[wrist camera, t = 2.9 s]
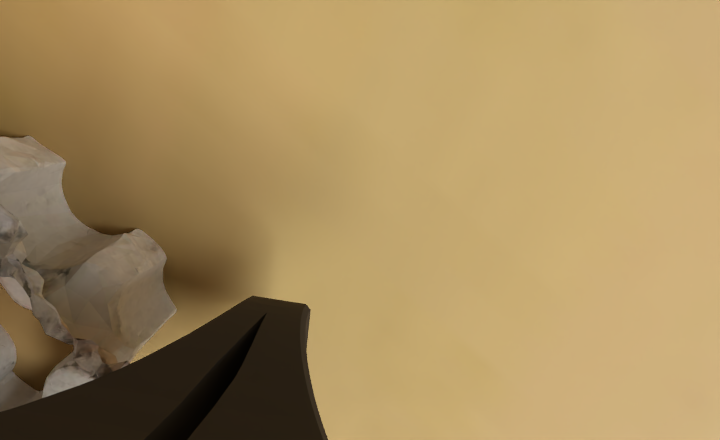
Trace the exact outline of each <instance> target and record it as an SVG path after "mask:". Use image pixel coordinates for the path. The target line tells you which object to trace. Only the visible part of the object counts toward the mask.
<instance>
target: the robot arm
mask: <svg viewBox="0 0 720 440" xmlns="http://www.w3.org/2000/svg"><path fill="white" fill-rule="evenodd" d="M309 319H310V309H309V307H308V306H307V305H306V304H301V303H294V302H288V301H282V300H275V299H269V298H263V297H256V296H251V297H250V298H248V299H246V300H244V301H243V302H241V303H239V304H238V305H236V306H234V307H233V308H231V309H230V310H228V311H226V312H225V313H223V314H222V315H220V316H218V317H217V318H215V319H213V320H212V321H210V322H208V323H207V324H205V325H203V326H202V327H200V328H198V329H196V330H195V331H193V332H191V333H190V334H188V335H186V336H184V337H182V338H180V339H178V340H177V341H175V342H173V343H171V344H169V345H167V346H165V347H163V348H161V349H160V350H158V351H156V352H154V353H152V354H150V355H148V356H146V357H144V358H142V359H140V360H138V361H136V362H134V363H131V364H129V365H127V366H125V367H123V368H120V369H118V370H116V371H113V372H111V373H108V374H106V375H104V376H101V377H99V378H97V379H94V380H92V381H89V382H87V383H84V384H81V385H79V386H76V387H73V388H70V389H67V390H64V391H61V392H59V393H56V394H53V395H50V396H47V397H44V398H41V399H39V400H36V401H33V402H30V403H27V404H24V405H21V406H18V407H15V408H12V409H8V410H5V411H2V412H0V440H328V438H327V436H326V433H325V430H324V427H323V424H322V421H321V418H320V415H319V412H318V408H317V405H316V401H315V397H314V393H313V389H312V384H311V380H310V375H309V369H308V363H307V353H306V347H307V338H308V328H309Z"/></svg>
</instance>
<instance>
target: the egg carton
mask: <svg viewBox="0 0 720 440" xmlns="http://www.w3.org/2000/svg"><path fill="white" fill-rule="evenodd" d="M65 165H66V161H65V160H64V159H63V158H61V157H60V156H59V155H57V154H56V153H54V152H53V151H51V150H49V149H48V148H46V147H45V146H43V145H41V144H40V143H39V142H37V141H36V140H35V139H34V138H33V137H31V136H29V135H28V136H26V137H23V138H10V137H6V136H2V137H0V283H1V284H2V286H3V287H4V289H5V290H6V291H7V293H8V294H9V295H10V296H11V298H12V299H13V300H14V301H15V302H16V303H17V304H19V305H21V306H22V307H24V308H27V309H30V310H32V312H33V315H34V316H35V317H36V318H37V319H38V320H39V321H40V323H41V325H42V327H43V329H44V331H45V334H47V335H49V336H51V337H53V338H56V339H58V340H60V341H62V342H65V343H67V344H71V345H74V351H73V352H72V353H70V354H69V355H68V356H67V357H66V358H64V359H63V360H62V361H61V362H60V363H58V364H57V365H56V366H55V367H54V368H53V370H52V371H51V372H50V374H49V375H48V376H47V378H46V381H45V384H44V389H43V390H41V391H36V390H35V389H33V388H32V387H30V386H29V385H28V384H26V383H25V382H24V381H22V380H21V379H20V378H19V377H18V376H17V375H15V373H14V372H13V371H12V370H13V368H14V366H15V364H16V359H17V356H16V347H15V345H14V342H13V340H12V339H11V337H10V335H9V334H8V333H7V331H6V330H5V329H4V328H3V327H2V325H1V324H0V412H2V411H5V410H8V409H12V408H15V407H18V406H21V405H24V404H27V403H30V402H33V401H36V400H39V399H41V398H44V397H47V396H50V395H53V394H56V393H59V392H61V391H64V390H67V389H70V388H73V387H76V386H79V385H81V384H84V383H87V382H89V381H92V380H94V379H97V378H99V377H101V376H104V375H106V374H108V373H111V372H113V371H116V370H118V369H120V368H123V367H125V366H127V365H129V364H130V361H131V360H132V359H133V358H134V357H135V356H136V354H137V352H138V351H139V350H140V349H141V348H142V347H143V345H144V344H145V343H146V342H147V341H148V340H149V339H150V338H151V337H152V336H153V335H154V334H155V333H156V332H157V331H158V330H159V329H160V328H161V327H162V326H163V324H164V323H165V322H166V321H167V320H168V319H170V318H171V317H172V316H173V315H174V314H175V313H176V311H177V309H176V307H175V305H174V304H173V302H172V300H171V299H170V297H169V295H168V293H167V292H166V289H165V286H164V283H163V268H164V265H165V263H166V260H167V257H166V255H165V253H164V251H163V250H162V248H161V247H160V246H159V245H158V244H157V243H156V242H155V241H154V240H153V239H152V238H151V237H149V236H148V235H147V234H146V233H145V232H143V231H142V230H140V229H135V230H133V231H131V232H129V233H124V234H118V235H107V234H102V233H100V232H97V231H95V230H93V229H91V228H89V227H88V226H86V225H84V224H83V223H82V222H80V221H79V220H78V219H77V218H76V217H75V215H74V214H73V213H72V212H71V210H70V208H69V206H68V204H67V202H66V199H65V197H64V194H63V189H62V175H63V169H64V167H65Z"/></svg>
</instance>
